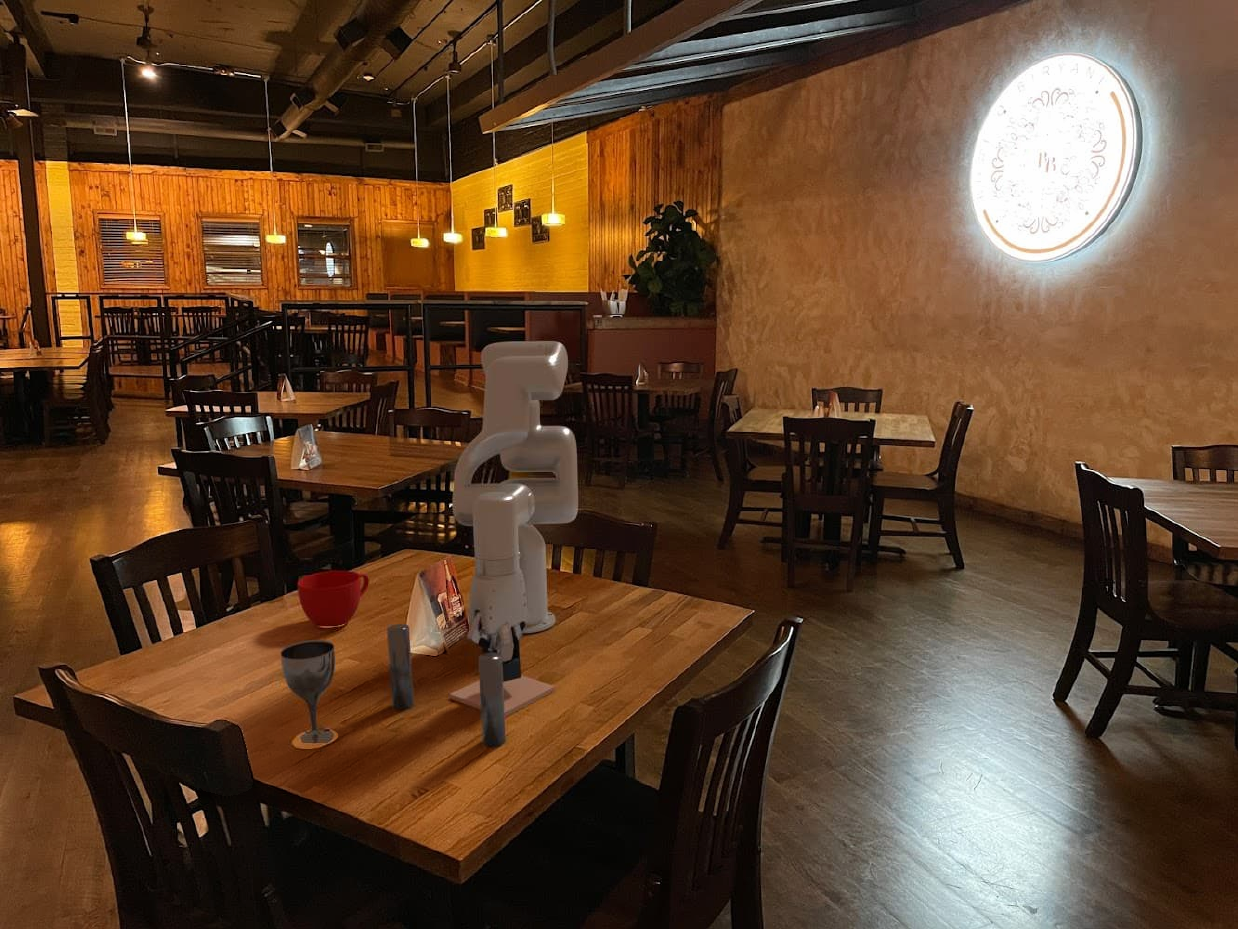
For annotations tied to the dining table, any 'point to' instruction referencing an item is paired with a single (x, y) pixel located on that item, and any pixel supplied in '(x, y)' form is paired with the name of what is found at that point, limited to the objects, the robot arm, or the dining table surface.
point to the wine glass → (310, 679)
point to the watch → (507, 653)
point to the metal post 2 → (492, 699)
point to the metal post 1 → (400, 666)
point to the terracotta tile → (507, 693)
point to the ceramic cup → (331, 596)
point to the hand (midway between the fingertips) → (501, 664)
